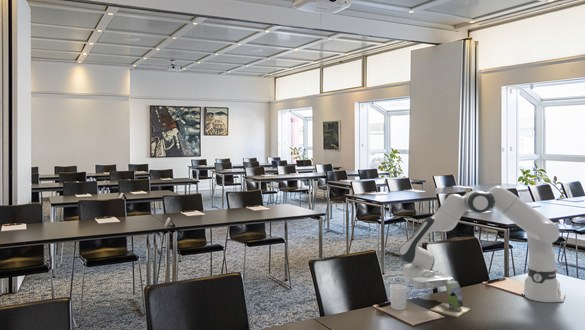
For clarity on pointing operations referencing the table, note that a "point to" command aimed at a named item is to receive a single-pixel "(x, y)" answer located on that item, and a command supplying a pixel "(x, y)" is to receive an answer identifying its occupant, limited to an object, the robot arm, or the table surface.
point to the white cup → (398, 296)
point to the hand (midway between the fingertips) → (442, 286)
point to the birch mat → (450, 310)
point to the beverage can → (454, 294)
